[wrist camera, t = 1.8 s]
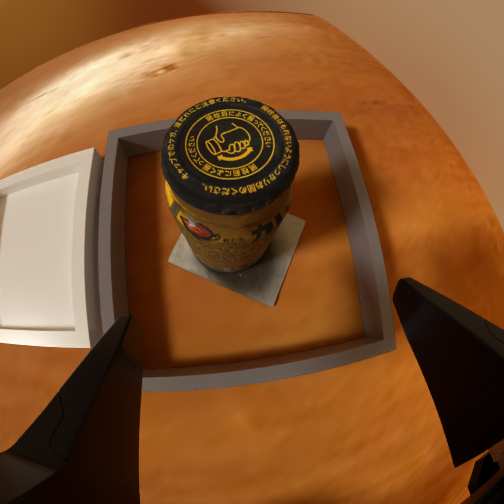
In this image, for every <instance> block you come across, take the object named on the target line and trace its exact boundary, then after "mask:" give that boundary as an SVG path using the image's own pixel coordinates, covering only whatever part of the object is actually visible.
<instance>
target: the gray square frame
mask: <svg viewBox="0 0 504 504" xmlns="http://www.w3.org/2000/svg"><path fill="white" fill-rule="evenodd" d="M276 112H277V113H279V114H280V115H281V116H282V117H283V118H284V119H285V120H286V121H287V122H288V123H289V124H290V125H291V126H292V128H293V130H294V133H295V135H296V138H297V139H323V141H324V144H325V147H326V150H327V154H328V157H329V160H330V164H331V167H332V171H333V174H334V178H335V182H336V185H337V189H338V193H339V197H340V201H341V205H342V209H343V213H344V218H345V222H346V226H347V231H348V236H349V240H350V245H351V250H352V255H353V260H354V266H355V271H356V277H357V283H358V289H359V296H360V302H361V309H362V317H363V325H364V333H365V337H364V338H360V339H357V340H353V341H349V342H345V343H341V344H336V345H332V346H328V347H323V348H319V349H314V350H309V351H304V352H299V353H294V354H288V355H283V356H277V357H271V358H264V359H258V360H251V361H243V362H236V363H227V364H218V365H208V366H197V367H183V368H166V369H142V392H165V391H188V390H202V389H214V388H224V387H233V386H241V385H249V384H256V383H262V382H268V381H274V380H280V379H286V378H291V377H296V376H301V375H306V374H310V373H315V372H319V371H323V370H327V369H331V368H335V367H339V366H343V365H347V364H350V363H354V362H358V361H361V360H364V359H368V358H371V357H374V356H377V355H381V354H384V353H387V352H390V351H393V350H396V343H395V332H394V323H393V314H392V307H391V300H390V293H389V287H388V281H387V275H386V269H385V264H384V259H383V254H382V249H381V244H380V240H379V235H378V231H377V227H376V223H375V219H374V215H373V211H372V207H371V203H370V200H369V196H368V193H367V189H366V186H365V182H364V179H363V176H362V173H361V170H360V166H359V163H358V160H357V157H356V154H355V151H354V149H353V146H352V143H351V140H350V137H349V135H348V132H347V129H346V127H345V124H344V122H343V119H342V117H341V114H340V113H336V112H320V111H276ZM176 120H177V118H174V119H168V120H161V121H156V122H150V123H145V124H140V125H135V126H130V127H125V128H121V129H117V130H112V131H109V134H108V140H107V146H106V152H105V159H104V166H103V175H102V184H101V195H100V209H99V230H98V273H99V294H100V308H101V319H102V328H103V335H104V334H105V333H106V332H107V330H108V329H109V328H110V327H111V326H112V325H113V323H114V322H115V321H116V320H117V319H118V318H119V317H120V316H121V315H129V306H128V294H127V280H126V258H125V205H126V183H127V169H128V157H129V156H134V155H139V154H144V153H150V152H156V151H161V150H162V147H163V141H164V137H165V135H166V133H167V131H168V129H169V128H170V127H171V126H172V125H173V123H174V122H175V121H176Z"/></svg>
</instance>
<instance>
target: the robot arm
mask: <svg viewBox="0 0 504 504" xmlns="http://www.w3.org/2000/svg"><path fill="white" fill-rule="evenodd" d="M393 303H394V306H395V308H396V311H397V313H398V316H399V319H400V321H401V324H402V327H403V329H404V332H405V335H406V337H407V339H408V342H409V344H410V346H411V348H412V350H413V353H414V355H415V357H416V359H417V362H418V364H419V366H420V369H421V371H422V373H423V376H424V378H425V381H426V383H427V386H428V388H429V391H430V393H431V396H432V398H433V401H434V404H435V406H436V409H437V412H438V415H439V418H440V421H441V424H442V427H443V430H444V433H445V436H446V439H447V443H448V446H449V450H450V453H451V457H452V460H453V464H454V466H455V468H456V467H458V466H460V465H462V464H463V463H465V462H467V461H469V460H471V459H473V458H474V457H476V456H478V455H480V454H481V453H483V452H485V451H486V450H489V451H487V452H486V453H485V454H484V455H483V456H482V457H481V458H479V459H478V460H477V461H476V462H475V465H474V468H473V472H472V475H471V478H470V481H469V484H468V489H469V492H470V495H471V496H470V497H468V498H467V499H466V500H465V501H463V502H462V503H461V504H504V330H503V329H501V328H499V327H498V326H496V325H494V324H493V323H491V322H489V321H487V320H486V319H483V318H482V317H481V316H479V315H477V314H475V313H474V312H472V311H470V310H469V309H467V308H465V307H463V306H461V305H460V304H458V303H456V302H454V301H453V300H451V299H449V298H447V297H445V296H444V295H442V294H440V293H438V292H436V291H434V290H433V289H431V288H429V287H427V286H425V285H423V284H421V283H419V282H417V281H416V280H414V279H412V278H409V277H407V278H402V279H400V280H399V281H398V283H397V286H396V289H395V292H394V294H393ZM141 393H142V333H141V330H140V328H139V326H138V324H137V321H136V319H135V317H134V316H133V315H131V314H129V315H121V316H120V317H119V318H118V319H117V320H116V321H115V322H114V323H113V325H112V326H111V327H110V328H109V329H108V330H107V332H106V333H105V334H104V335H103V336H102V337H101V339H100V340H99V341H98V342H97V343H96V345H95V346H94V347H93V348H92V349H91V351H90V352H89V353H88V354H87V356H86V357H85V358H84V359H83V360H82V362H81V363H80V364H79V365H78V367H77V368H76V369H75V370H74V372H73V373H72V374H71V376H70V377H69V378H68V379H67V381H66V382H65V383H64V385H63V386H62V387H61V388H60V390H59V392H57V394H56V395H55V396H54V398H53V399H52V400H51V401H50V403H49V404H48V405H47V407H46V408H45V409H44V410H43V412H42V413H41V414H40V415H39V416H38V418H37V419H36V420H35V421H34V422H33V423H32V424H31V426H30V427H29V428H28V429H27V430H26V431H25V432H24V434H23V435H22V436H21V437H20V438H19V439H18V441H17V442H16V443H15V444H14V445H13V446H12V447H11V448H9V449H8V450H6V451H4V452H1V453H0V504H140V492H139V425H140V407H141Z"/></svg>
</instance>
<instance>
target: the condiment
mask: <svg viewBox="0 0 504 504" xmlns="http://www.w3.org/2000/svg"><path fill="white" fill-rule="evenodd" d="M161 157H162V161H161V167H162V170H163V175H164V177H165V179H166V180H165V189H166V199H167V203H168V205H169V209H170V211H171V213H172V215H173V217H174V218H175V220H176V222H177V224H178V226H179V228H180V229H181V231H182V233H181V235H180V237H179V239H178V241H177V243H176V245H175V247H174V249H173V251H172V253H171V255H170V257H169V260H168V262H171V263H173V264H175V265H177V266H179V267H181V268H183V269H185V270H188V271H190V272H192V273H194V274H196V275H199V276H201V277H203V278H205V279H208V280H210V281H212V282H214V283H217V284H219V285H221V286H224V287H226V288H228V289H231V290H233V291H235V292H237V293H240V294H242V295H244V296H247V297H249V298H251V299H254V300H256V301H259V302H261V303H264V304H266V305H268V306H271V307H273V305H274V303H275V300H276V297H277V295H278V292H279V290H280V287H281V285H282V282H283V280H284V277H285V275H286V272H287V269H288V267H289V264H290V262H291V259H292V256H293V254H294V251H295V249H296V246H297V244H298V241H299V238H300V236H301V233H302V231H303V228H304V225H305V223H306V221H305V220H303V219H301V218H299V217H297V216H294V215H291V214H289V213H288V211H289V208H290V205H291V201H292V197H293V191H294V182H293V179H294V178H295V174H296V172H297V170H298V167H299V157H300V155H299V143H298V141H297V138H296V135H295V133H294V130H293V128H292V126H291V125H290V124H289V123H288V122H287V121H286V120H285V119H284V118H283V117H282V116H281V115H280V114H279V113H277V112H276V111H275V110H274V109H273V108H271V107H269V106H267V105H265V104H263V103H261V102H258V101H255V100H250V99H247V98H241V97H217V98H211V99H209V100H206V101H203V102H201V103H198V104H196V105H194V106H192V107H191V108H189V109H187V110H186V111H184V112H183V113H182V114H181V115H180V116H179V117H178V118H177V120H176V121H175V122H174V123H173V125H172V126H171V127H170V128H169V129H168V131H167V133H166V135H165V137H164V141H163V147H162V150H161ZM273 237H274V238H273ZM239 274H241V276H239Z"/></svg>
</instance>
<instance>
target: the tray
mask: <svg viewBox="0 0 504 504" xmlns="http://www.w3.org/2000/svg"><path fill="white" fill-rule="evenodd" d="M103 166H104V160H103V159H102V158H101V156H100V155H99V153H98V152H97V151H96V149H95V148H90V149H87V150H83V151H80V152H76V153H73V154H69V155H66V156H63V157H60V158H57V159H54V160H51V161H48V162H45V163H42V164H39V165H36V166H34V167H31V168H28V169H26V170H23V171H21V172H18V173H16V174H13V175H11V176H8V177H6V178H4V179H1V180H0V342H1V343H10V344H20V345H32V346H47V347H69V348H92V347H94V346H95V345H96V343H97V342H98V341H99V340H100V339H101V337H102V336H103V328H102V319H101V308H100V294H99V273H98V230H99V209H100V195H101V184H102V175H103Z"/></svg>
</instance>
